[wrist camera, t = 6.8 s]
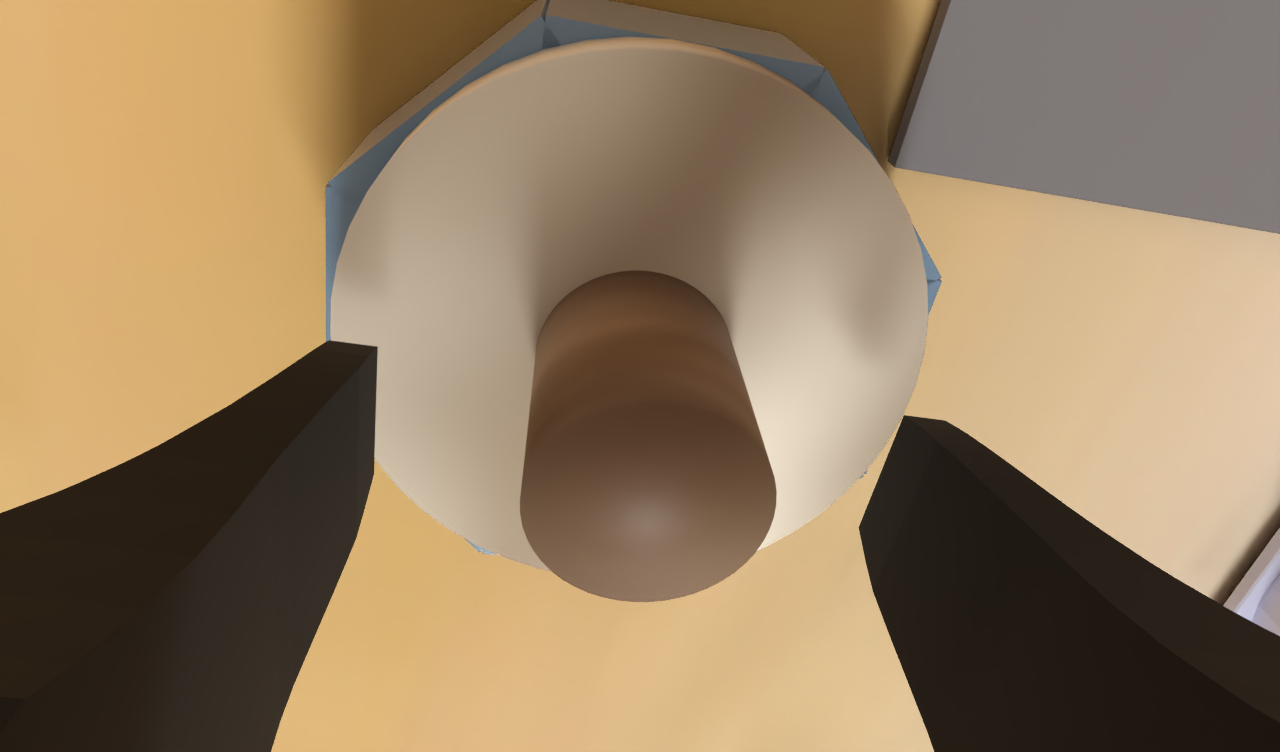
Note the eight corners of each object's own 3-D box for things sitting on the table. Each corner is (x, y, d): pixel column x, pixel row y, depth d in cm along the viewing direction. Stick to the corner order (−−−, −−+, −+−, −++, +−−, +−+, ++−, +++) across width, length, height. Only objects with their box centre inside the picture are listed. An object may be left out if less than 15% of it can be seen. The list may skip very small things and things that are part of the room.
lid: (1005, 128, 12) (1197, 242, 8) (793, 574, 17) (856, 784, 13) (380, -46, 11) (262, -4, 7) (325, 497, 15) (234, 710, 11)
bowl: (937, 63, 15) (1011, 102, 12) (790, 492, 19) (821, 586, 17) (375, -46, 13) (324, -27, 11) (364, 444, 18) (326, 538, 16)
